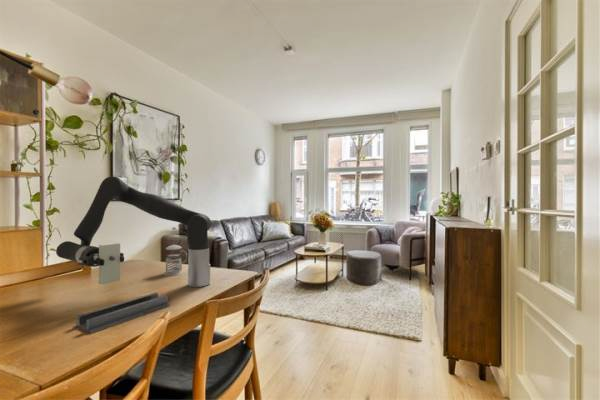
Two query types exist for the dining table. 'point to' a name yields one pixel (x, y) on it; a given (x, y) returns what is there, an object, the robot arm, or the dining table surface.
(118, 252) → the door panel
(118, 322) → the track
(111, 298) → the dining table surface
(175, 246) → the french press
